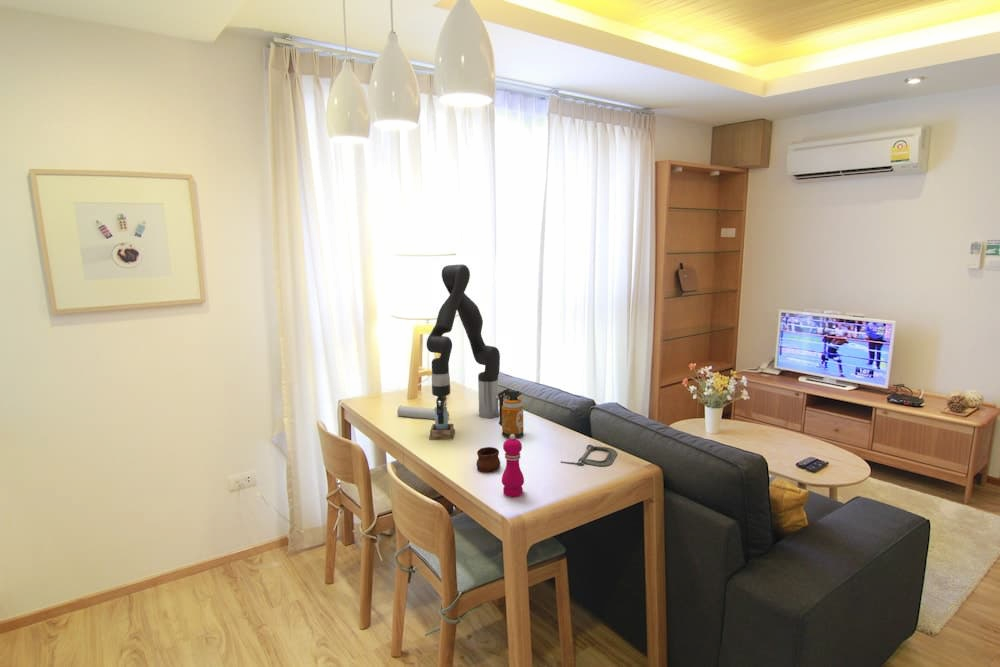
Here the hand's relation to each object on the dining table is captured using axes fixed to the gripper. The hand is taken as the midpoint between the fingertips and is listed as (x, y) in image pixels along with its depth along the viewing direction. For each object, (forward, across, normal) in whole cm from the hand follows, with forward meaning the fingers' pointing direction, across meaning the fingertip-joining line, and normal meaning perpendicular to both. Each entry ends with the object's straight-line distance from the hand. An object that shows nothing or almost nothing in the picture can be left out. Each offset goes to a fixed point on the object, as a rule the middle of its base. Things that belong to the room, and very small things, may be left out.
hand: (442, 420), depth 231 cm
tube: (+7, +24, +11) cm, 28 cm away
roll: (+6, 0, 0) cm, 6 cm away
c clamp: (+8, -26, -59) cm, 65 cm away
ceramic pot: (+7, -35, -20) cm, 41 cm away
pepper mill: (+7, -55, -29) cm, 62 cm away
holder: (+7, 0, 0) cm, 7 cm away
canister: (+7, -1, -29) cm, 30 cm away
